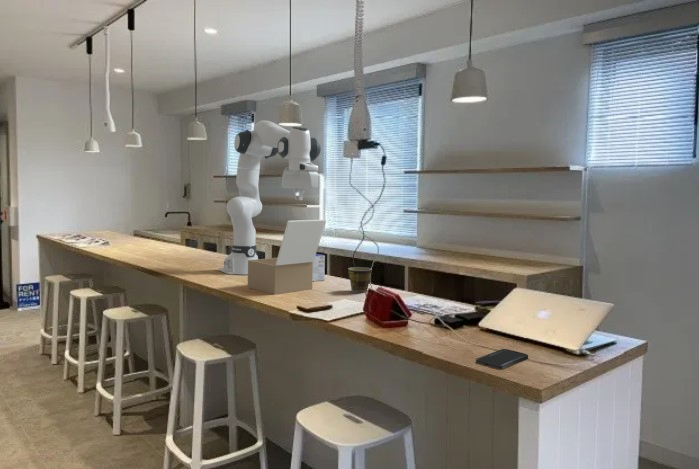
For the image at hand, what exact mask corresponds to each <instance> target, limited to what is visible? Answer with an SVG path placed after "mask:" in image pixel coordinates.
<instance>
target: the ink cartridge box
mask: <svg viewBox="0 0 699 469" xmlns="http://www.w3.org/2000/svg"><path fill="white" fill-rule="evenodd" d="M325 258H326V256H325V254H320V253H316V255H315V258H314V261H313V272H312V282H319V281H325V276H326V275H325V268H326V267H325V266H326V264H325V263H326V261H325Z"/></svg>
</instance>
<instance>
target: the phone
mask: <svg viewBox="0 0 699 469" xmlns="http://www.w3.org/2000/svg"><path fill="white" fill-rule="evenodd" d="M528 359H529V354H528V353H525V352H520V351H516V350H512V349H507V348H501V349H498V350H495V351H494V352H491V353H488V354H486V355H482V356H480V357H477V358H476V359H475V363H476V362H477V363H476V364H480V365H482V364H483V365H482V366H486V367H489V366H490V368H493V369H497V370H504V369H506V368H509V367H511V366H513V365H516V364H519V363H520V362H523V361H525V360H528Z"/></svg>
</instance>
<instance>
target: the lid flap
mask: <svg viewBox="0 0 699 469" xmlns="http://www.w3.org/2000/svg"><path fill="white" fill-rule="evenodd" d="M326 222H327V219H305V220H303V219H302V220H300V219H299V220H288V221H287V222H286V226H285V230H284V233H283V237H282V239H281V244H280V247H279V251H278V255H277V257H276V258H277V261H276V265H286V264H296V263H306V262H313V261H314V258H315V255H316V254H317V251H318V248H319V245H320V241H321V239H322V235H323V232H324V228H325V225H326Z"/></svg>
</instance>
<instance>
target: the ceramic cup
mask: <svg viewBox="0 0 699 469" xmlns="http://www.w3.org/2000/svg"><path fill="white" fill-rule="evenodd" d="M347 270H348V278H349V282H350V289H351V292H352V293H353V294H354V293H355V294H366V293H368V290H367V289H369V284H370V280H371V275H372V268H370V267H361V266H355V267H348V269H347Z"/></svg>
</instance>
